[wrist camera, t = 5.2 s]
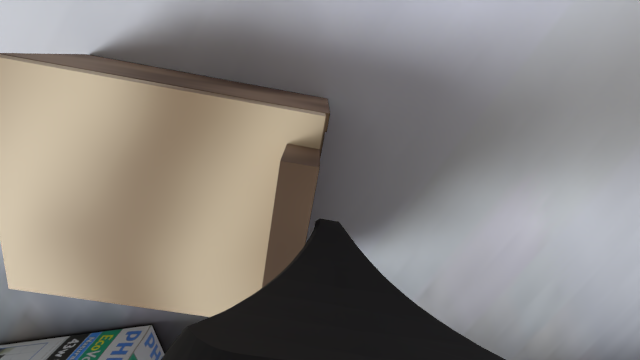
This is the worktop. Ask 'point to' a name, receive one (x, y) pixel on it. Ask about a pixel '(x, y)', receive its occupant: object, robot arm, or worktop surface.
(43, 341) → the light bulb box
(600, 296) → the worktop surface
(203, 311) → the lid
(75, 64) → the walnut box
